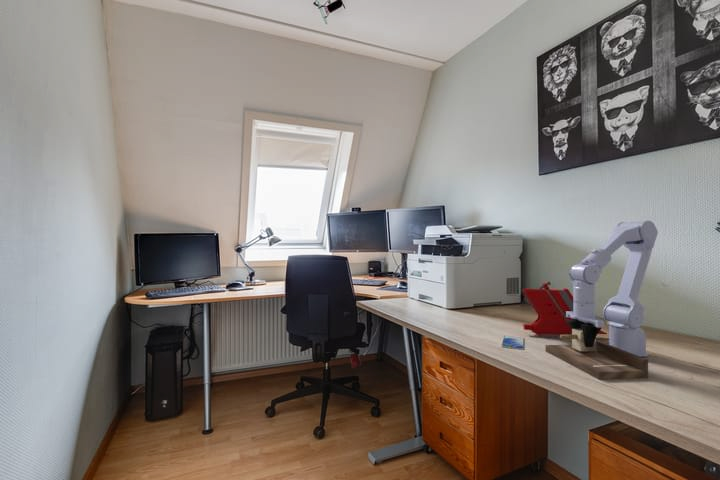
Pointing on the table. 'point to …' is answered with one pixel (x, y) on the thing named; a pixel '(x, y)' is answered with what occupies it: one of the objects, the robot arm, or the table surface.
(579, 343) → the beige block with rod
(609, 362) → the board
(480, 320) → the table surface
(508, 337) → the smartphone
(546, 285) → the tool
